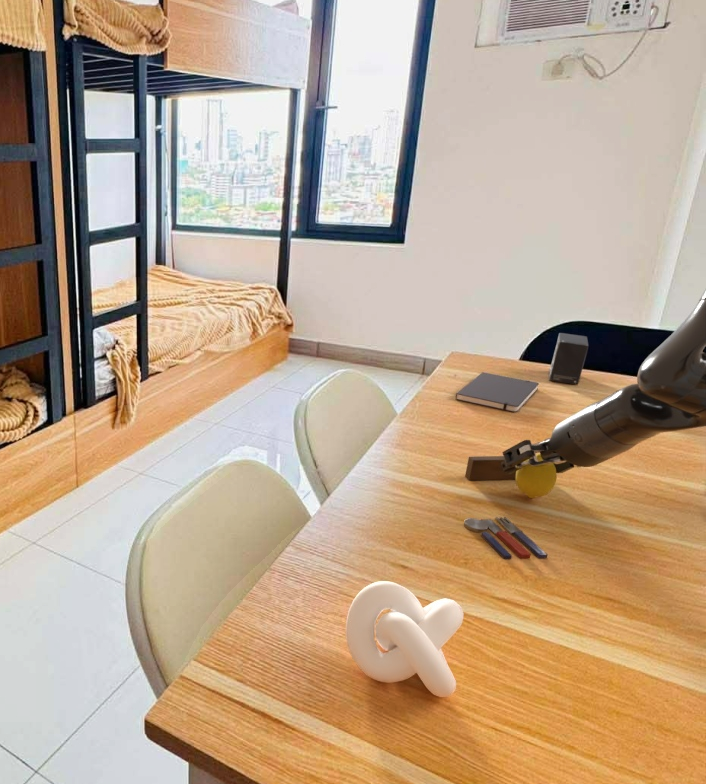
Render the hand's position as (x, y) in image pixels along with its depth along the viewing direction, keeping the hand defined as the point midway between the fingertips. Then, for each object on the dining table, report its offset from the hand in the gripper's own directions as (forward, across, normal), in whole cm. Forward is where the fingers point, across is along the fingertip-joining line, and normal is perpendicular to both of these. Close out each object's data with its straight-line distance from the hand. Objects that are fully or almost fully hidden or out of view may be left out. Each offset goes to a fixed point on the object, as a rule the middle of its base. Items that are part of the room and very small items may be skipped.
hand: (530, 468), depth 104 cm
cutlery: (-6, +12, +13) cm, 18 cm away
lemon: (+2, 0, +5) cm, 5 cm away
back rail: (+7, 0, 0) cm, 7 cm away
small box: (+45, -47, -38) cm, 75 cm away
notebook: (+37, -23, -30) cm, 53 cm away
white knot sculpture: (-24, +38, +31) cm, 54 cm away
